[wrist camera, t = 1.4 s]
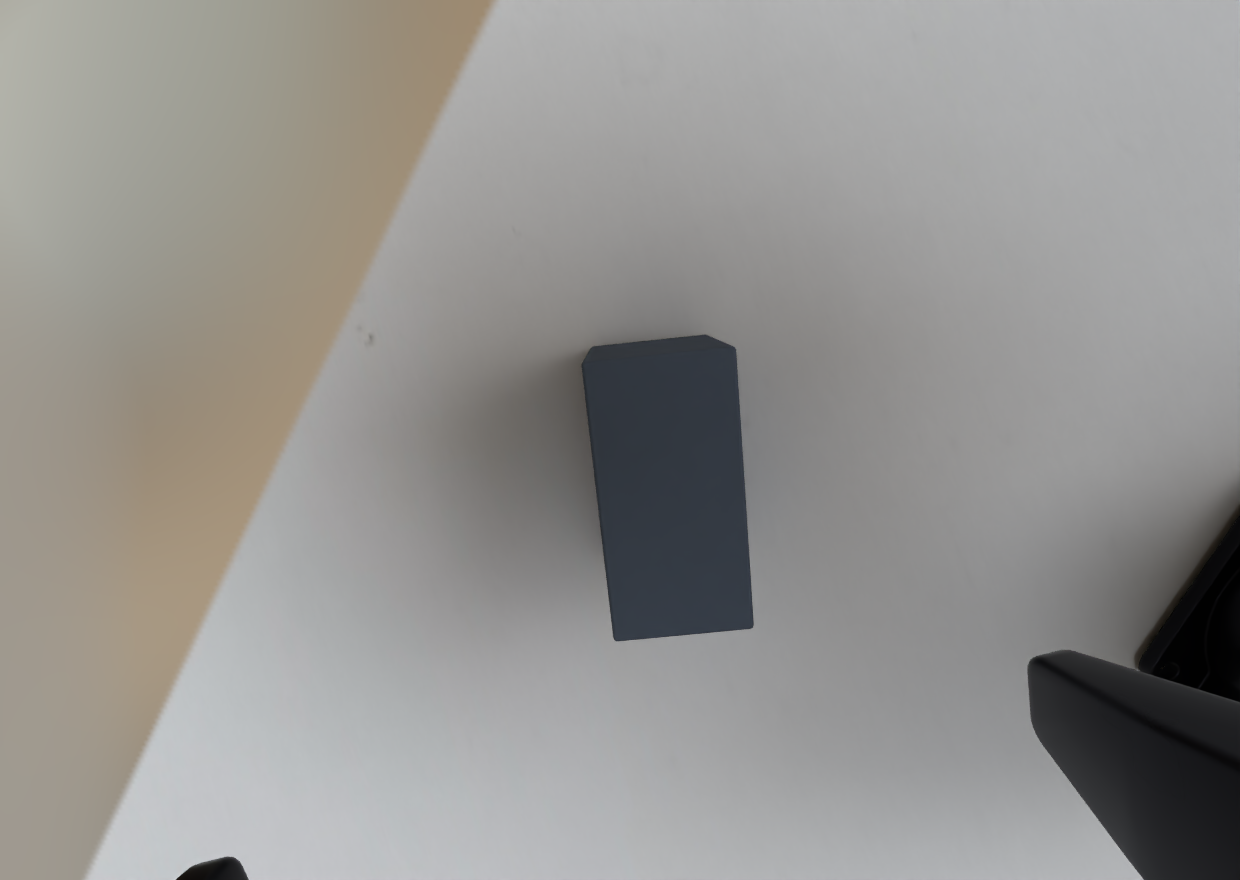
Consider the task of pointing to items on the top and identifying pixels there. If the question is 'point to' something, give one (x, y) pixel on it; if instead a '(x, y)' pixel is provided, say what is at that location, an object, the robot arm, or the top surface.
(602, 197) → the top surface
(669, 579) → the eraser
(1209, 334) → the top surface
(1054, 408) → the top surface
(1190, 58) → the top surface
